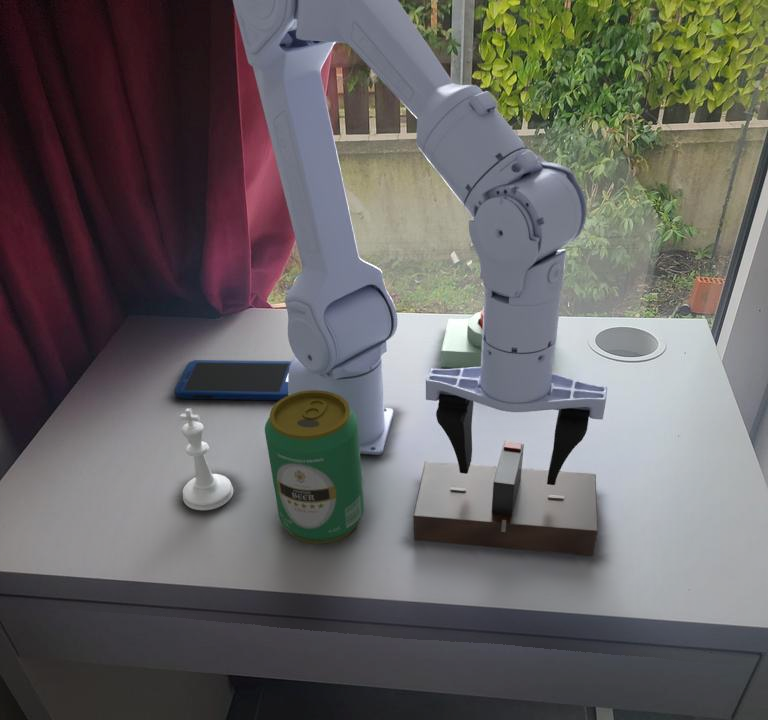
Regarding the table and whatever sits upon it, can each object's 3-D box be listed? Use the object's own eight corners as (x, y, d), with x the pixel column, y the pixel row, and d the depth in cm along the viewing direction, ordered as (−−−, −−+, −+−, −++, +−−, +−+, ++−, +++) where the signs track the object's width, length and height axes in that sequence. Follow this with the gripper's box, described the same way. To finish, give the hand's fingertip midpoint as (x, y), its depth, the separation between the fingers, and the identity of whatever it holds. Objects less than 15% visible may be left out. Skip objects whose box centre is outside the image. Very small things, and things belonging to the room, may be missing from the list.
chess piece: (223, 513, 78) (203, 427, 71) (175, 507, 79) (151, 423, 72) (240, 481, 82) (223, 396, 75) (194, 476, 82) (173, 392, 76)
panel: (411, 548, 73) (411, 522, 71) (426, 478, 81) (426, 452, 79) (593, 565, 71) (598, 538, 69) (591, 490, 78) (595, 464, 76)
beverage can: (268, 540, 75) (248, 434, 67) (295, 486, 81) (280, 382, 73) (351, 552, 73) (342, 445, 65) (373, 496, 79) (367, 391, 71)
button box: (440, 367, 96) (441, 337, 94) (448, 333, 102) (448, 304, 100) (543, 372, 94) (546, 342, 92) (545, 338, 100) (548, 308, 98)
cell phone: (292, 400, 92) (291, 395, 91) (172, 398, 93) (171, 393, 93) (303, 366, 97) (302, 360, 97) (190, 365, 99) (188, 359, 98)
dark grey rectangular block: (511, 516, 71) (514, 482, 69) (491, 513, 72) (493, 479, 69) (521, 474, 76) (524, 441, 73) (501, 472, 76) (504, 439, 74)
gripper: (617, 319, 64) (595, 455, 73) (438, 303, 68) (437, 436, 77) (612, 364, 59) (589, 505, 68) (419, 345, 63) (420, 482, 72)
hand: (508, 472), depth 72 cm, fingers open, 7 cm apart
